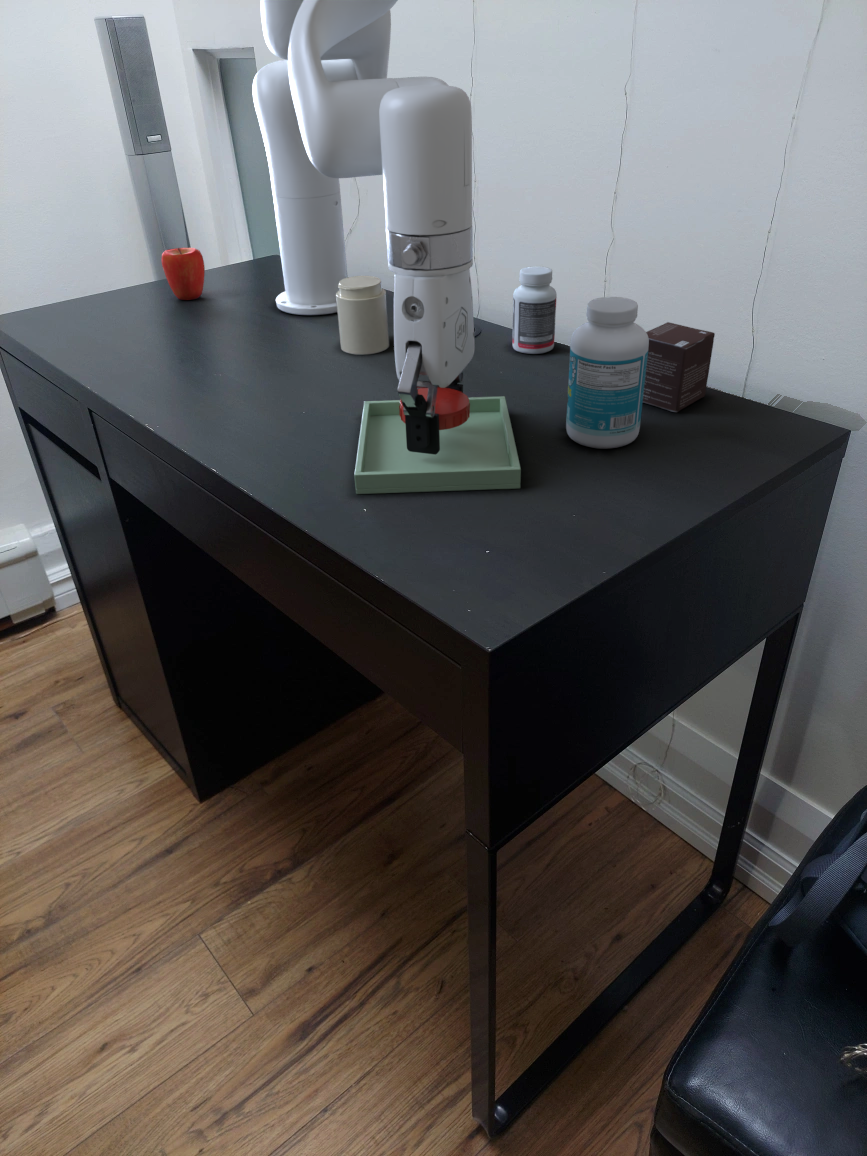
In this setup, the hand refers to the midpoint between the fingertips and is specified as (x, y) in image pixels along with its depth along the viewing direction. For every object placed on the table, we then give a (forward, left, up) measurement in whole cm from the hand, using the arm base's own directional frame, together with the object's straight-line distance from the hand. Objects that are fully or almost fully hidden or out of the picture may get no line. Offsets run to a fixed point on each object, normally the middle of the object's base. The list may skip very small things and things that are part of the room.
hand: (436, 434), depth 84 cm
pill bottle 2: (-2, +17, -2) cm, 17 cm away
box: (-11, +26, -2) cm, 28 cm away
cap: (0, 0, +3) cm, 3 cm away
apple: (-58, -38, -2) cm, 69 cm away
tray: (0, 0, -2) cm, 2 cm away
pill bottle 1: (-29, +13, -2) cm, 32 cm away
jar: (-32, -9, -2) cm, 33 cm away
